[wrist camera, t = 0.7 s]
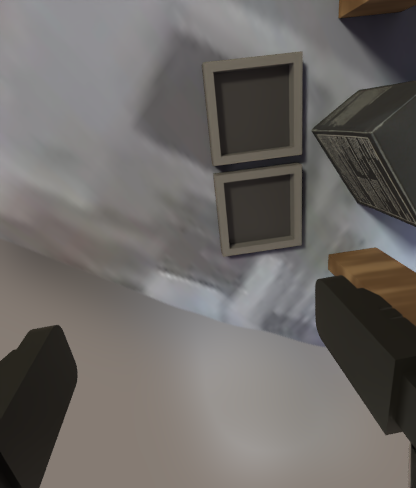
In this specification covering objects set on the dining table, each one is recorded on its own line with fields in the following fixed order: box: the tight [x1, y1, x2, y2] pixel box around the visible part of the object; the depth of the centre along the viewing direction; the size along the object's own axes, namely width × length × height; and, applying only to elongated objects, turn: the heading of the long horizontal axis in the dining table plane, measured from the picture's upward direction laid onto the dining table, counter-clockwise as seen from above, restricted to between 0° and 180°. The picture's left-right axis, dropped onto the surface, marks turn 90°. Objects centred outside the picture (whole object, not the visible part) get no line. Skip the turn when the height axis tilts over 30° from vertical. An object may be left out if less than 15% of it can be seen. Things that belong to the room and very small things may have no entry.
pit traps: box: [202, 52, 302, 257], centre depth 32 cm, size 19×9×2 cm, turn 6°
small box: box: [312, 81, 416, 227], centre depth 29 cm, size 11×6×10 cm, turn 40°
